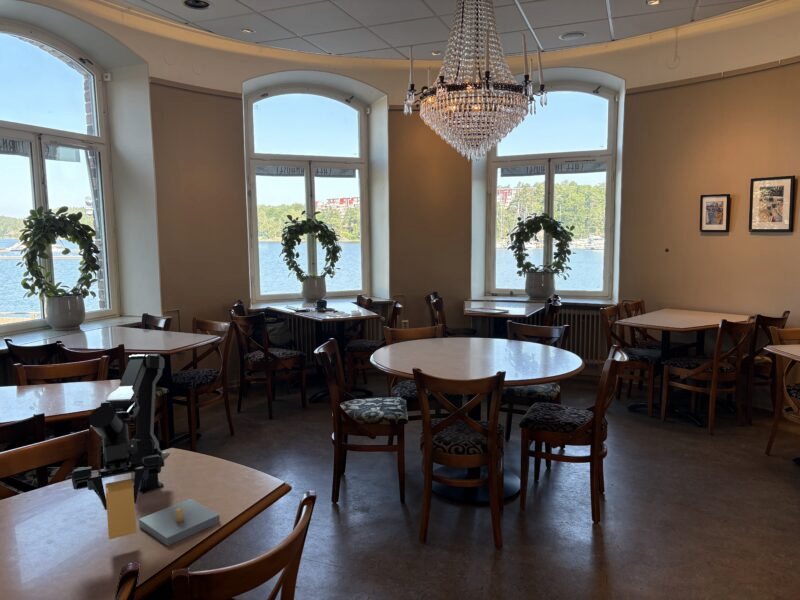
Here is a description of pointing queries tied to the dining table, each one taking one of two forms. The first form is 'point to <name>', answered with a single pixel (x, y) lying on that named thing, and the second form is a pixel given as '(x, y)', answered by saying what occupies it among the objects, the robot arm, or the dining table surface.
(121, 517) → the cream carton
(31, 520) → the dining table surface
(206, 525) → the terminal board
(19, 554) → the dining table surface
